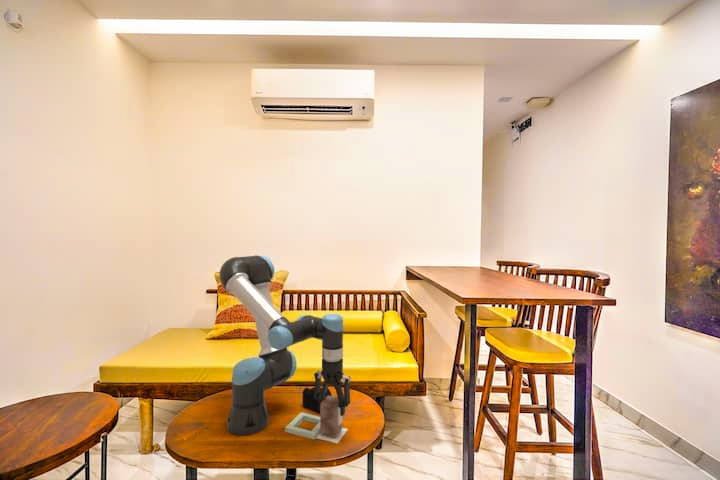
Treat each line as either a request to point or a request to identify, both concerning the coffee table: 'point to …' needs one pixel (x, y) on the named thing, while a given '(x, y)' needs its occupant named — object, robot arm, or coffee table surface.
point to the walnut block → (330, 416)
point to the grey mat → (332, 439)
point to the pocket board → (294, 429)
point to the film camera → (312, 399)
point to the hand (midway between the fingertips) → (331, 421)
